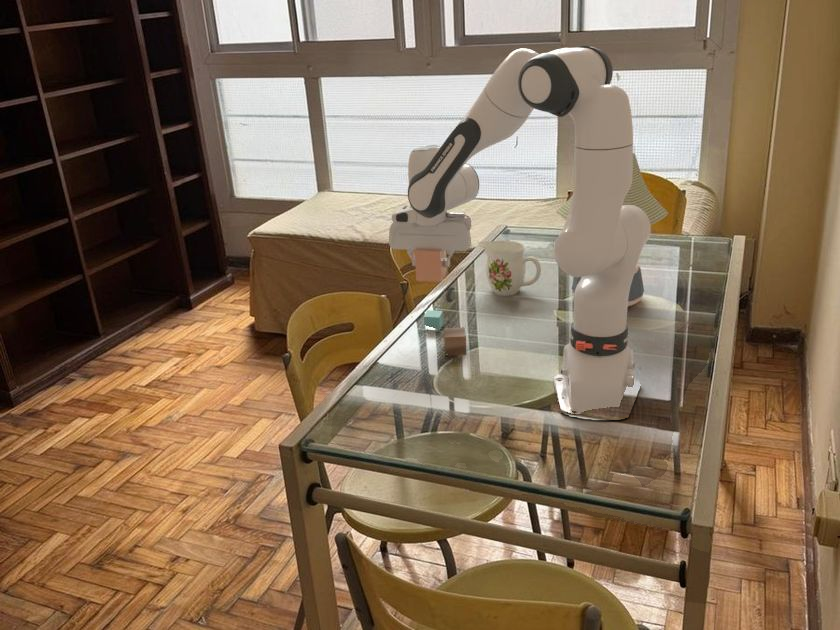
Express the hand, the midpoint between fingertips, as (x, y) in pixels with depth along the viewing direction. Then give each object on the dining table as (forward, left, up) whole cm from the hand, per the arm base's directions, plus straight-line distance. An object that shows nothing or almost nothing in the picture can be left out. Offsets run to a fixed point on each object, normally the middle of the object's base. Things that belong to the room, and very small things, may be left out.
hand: (431, 265), depth 200 cm
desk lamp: (+23, -43, -17) cm, 52 cm away
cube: (0, 0, -17) cm, 17 cm away
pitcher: (+26, -16, -17) cm, 35 cm away
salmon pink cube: (0, 0, -3) cm, 3 cm away
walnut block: (-12, -8, -17) cm, 22 cm away
